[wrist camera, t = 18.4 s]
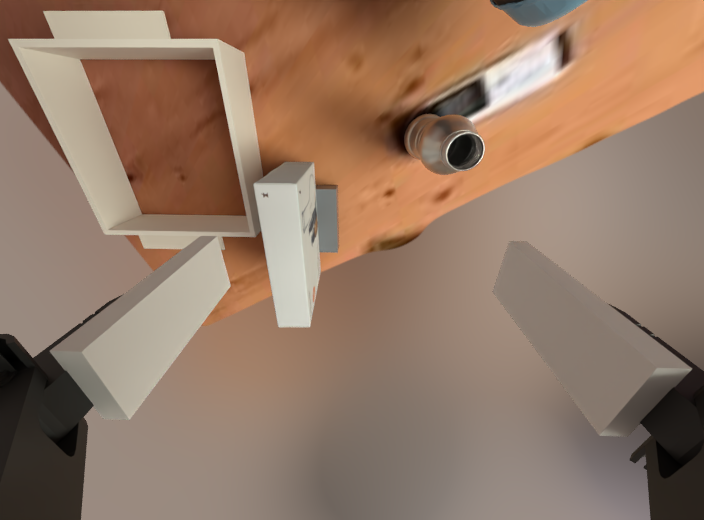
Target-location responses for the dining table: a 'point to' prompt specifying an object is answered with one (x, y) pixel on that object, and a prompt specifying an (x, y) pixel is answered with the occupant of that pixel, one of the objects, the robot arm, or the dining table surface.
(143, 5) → the dining table surface
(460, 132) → the plastic bottle
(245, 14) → the dining table surface
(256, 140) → the tray
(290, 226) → the skincare box
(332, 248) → the plate
